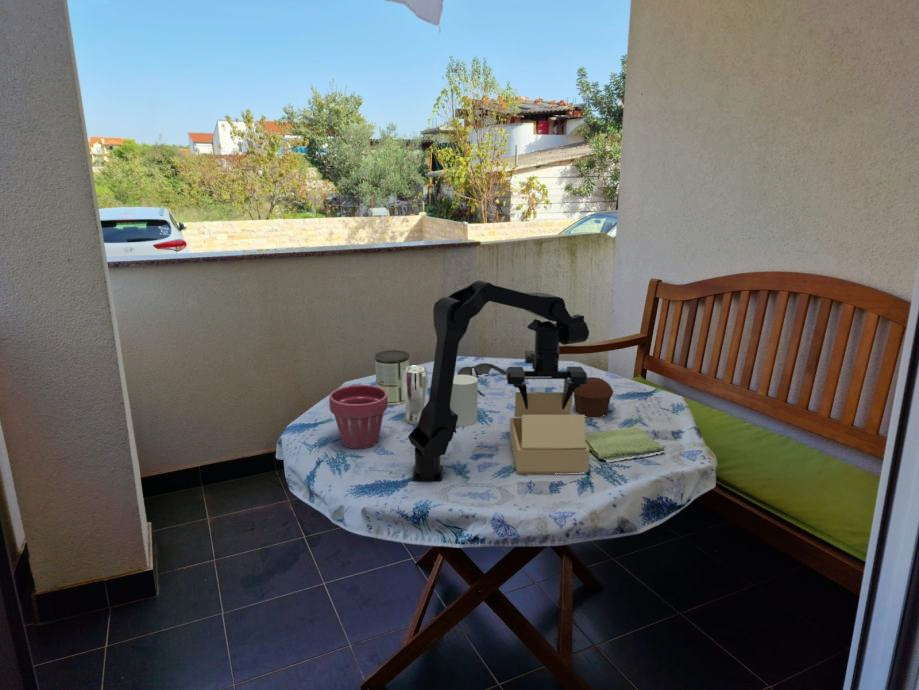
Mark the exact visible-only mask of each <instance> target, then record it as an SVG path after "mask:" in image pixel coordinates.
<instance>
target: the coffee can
mask: <svg viewBox="0 0 919 690" xmlns="http://www.w3.org/2000/svg"><path fill="white" fill-rule="evenodd" d="M374 363H375V384H376V385H375V386H376V387H380V388H382V389H384V390H385V391H386V392H387V397H388V406H395V405H403V404H405V400H404V395H403V389H402V372H403V370H402V369H403V368H404V367H406V366H410V353H409V352H407V351H403V350H398V349H395V350H394V349H390V350H383V351H380V352H376V353H375V354H374Z"/></svg>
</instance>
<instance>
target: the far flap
mask: <svg viewBox="0 0 919 690" xmlns="http://www.w3.org/2000/svg"><path fill="white" fill-rule="evenodd" d="M562 397H563V391H561V392H553V391H552V392H551V391H550V392H549V391H548V392H546V391H545V392H541V391H540V392H534V391H533V392H531V391H530V392H528V391H527V399H528V409H526V408H525V404H524V401H523V397H522V395H521V393H520V391H519V392H517V391H516V392H515V402H514V403H515V404H514V417H513V418H522V415H571V413H572V404H573V399H574V393H572V395H571V397H570V398H569V400H568V402H567V404H566V406H565V408H564V409H562Z"/></svg>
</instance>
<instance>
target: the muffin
mask: <svg viewBox="0 0 919 690" xmlns="http://www.w3.org/2000/svg"><path fill="white" fill-rule="evenodd" d="M613 394H614V390H613V387H612V386H611V385H610V384H609V383H608V382H607V381H606V380H604V379H602V378H599V377H593V376H592V377H591V376H590V377H589V376H587V384H580V387H577V388H576V389H575V391H574V392H573V399H574V409H575V411H574V412H575V413H576V412H577V414H578V413H579V414H580V415H585V416H587V417H586V418H588V417H601V416H603V415H606V416H607V415H608V413H607V412H608V409H609V405H610V402H611V397H613ZM579 414H578V415H579ZM603 417H604V416H603ZM601 418H602V417H601Z"/></svg>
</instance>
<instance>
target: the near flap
mask: <svg viewBox="0 0 919 690" xmlns="http://www.w3.org/2000/svg"><path fill="white" fill-rule="evenodd" d="M521 418H522V448H585V435H586V417H585V415H579V414H570V415H522V417H521Z"/></svg>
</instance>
